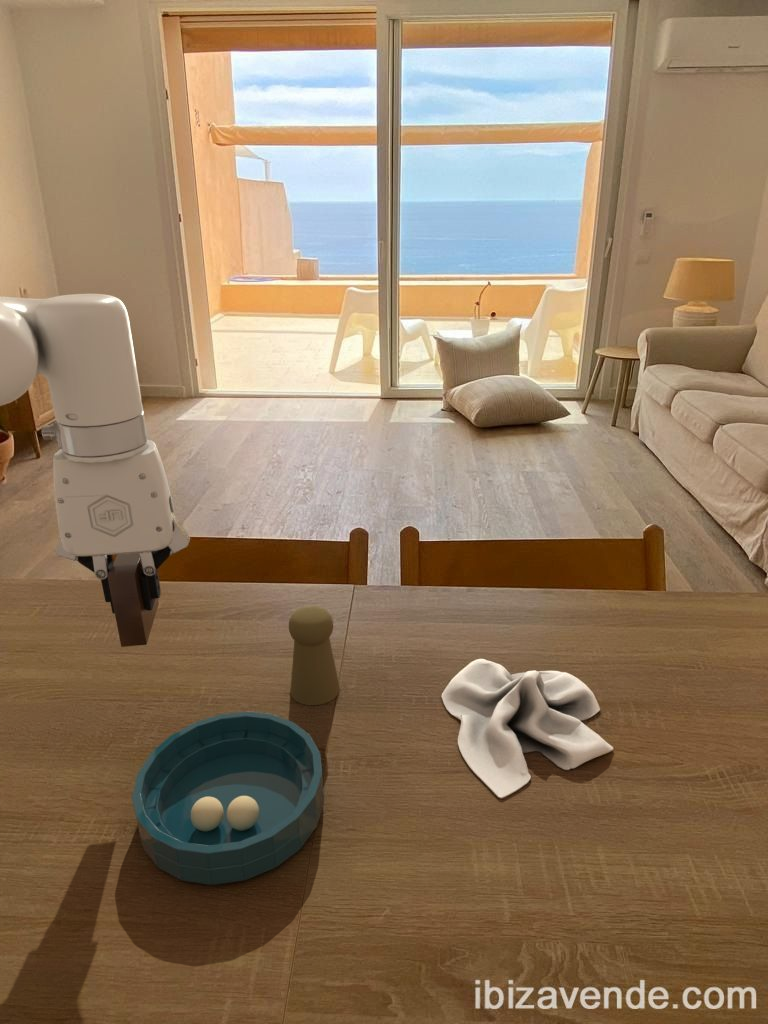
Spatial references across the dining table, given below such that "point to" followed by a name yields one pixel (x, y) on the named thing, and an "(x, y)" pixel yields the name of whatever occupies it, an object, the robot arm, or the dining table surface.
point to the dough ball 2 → (242, 813)
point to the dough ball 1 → (206, 813)
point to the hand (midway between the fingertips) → (134, 603)
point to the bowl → (229, 796)
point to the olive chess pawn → (313, 656)
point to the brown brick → (130, 601)
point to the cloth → (520, 721)
